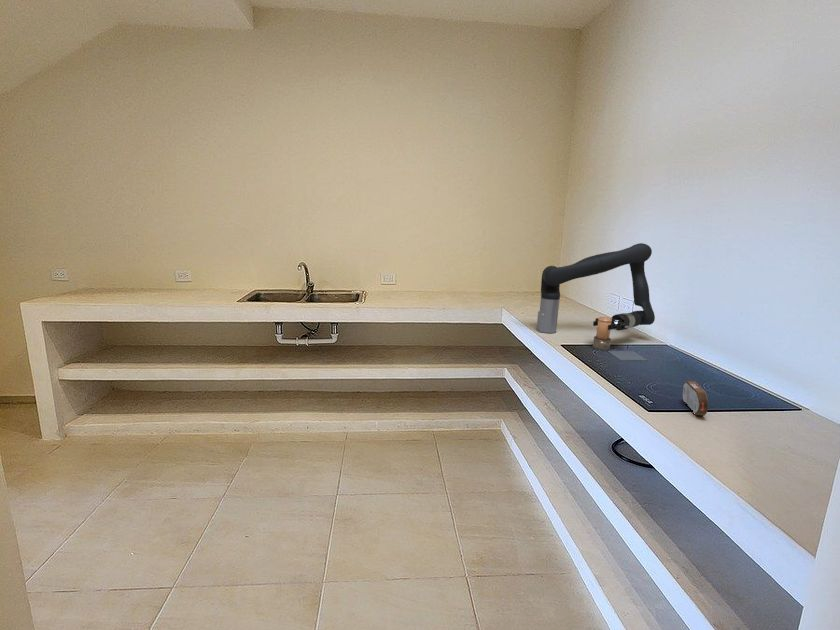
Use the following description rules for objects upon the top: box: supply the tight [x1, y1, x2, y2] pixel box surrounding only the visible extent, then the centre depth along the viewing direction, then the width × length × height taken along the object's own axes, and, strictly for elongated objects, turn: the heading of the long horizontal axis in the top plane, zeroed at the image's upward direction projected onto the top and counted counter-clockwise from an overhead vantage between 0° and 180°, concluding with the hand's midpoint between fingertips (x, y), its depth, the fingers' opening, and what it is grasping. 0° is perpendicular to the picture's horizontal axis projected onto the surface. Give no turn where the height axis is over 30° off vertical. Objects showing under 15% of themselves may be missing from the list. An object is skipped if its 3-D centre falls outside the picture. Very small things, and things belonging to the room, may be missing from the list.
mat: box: [607, 350, 648, 362], centre depth 207 cm, size 12×12×1 cm
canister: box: [592, 335, 612, 352], centre depth 217 cm, size 7×7×5 cm
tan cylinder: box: [595, 316, 612, 340], centre depth 215 cm, size 6×6×10 cm
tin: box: [681, 380, 709, 417], centre depth 154 cm, size 15×3×8 cm, turn 170°
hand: (601, 325), depth 214 cm, fingers open, 7 cm apart
